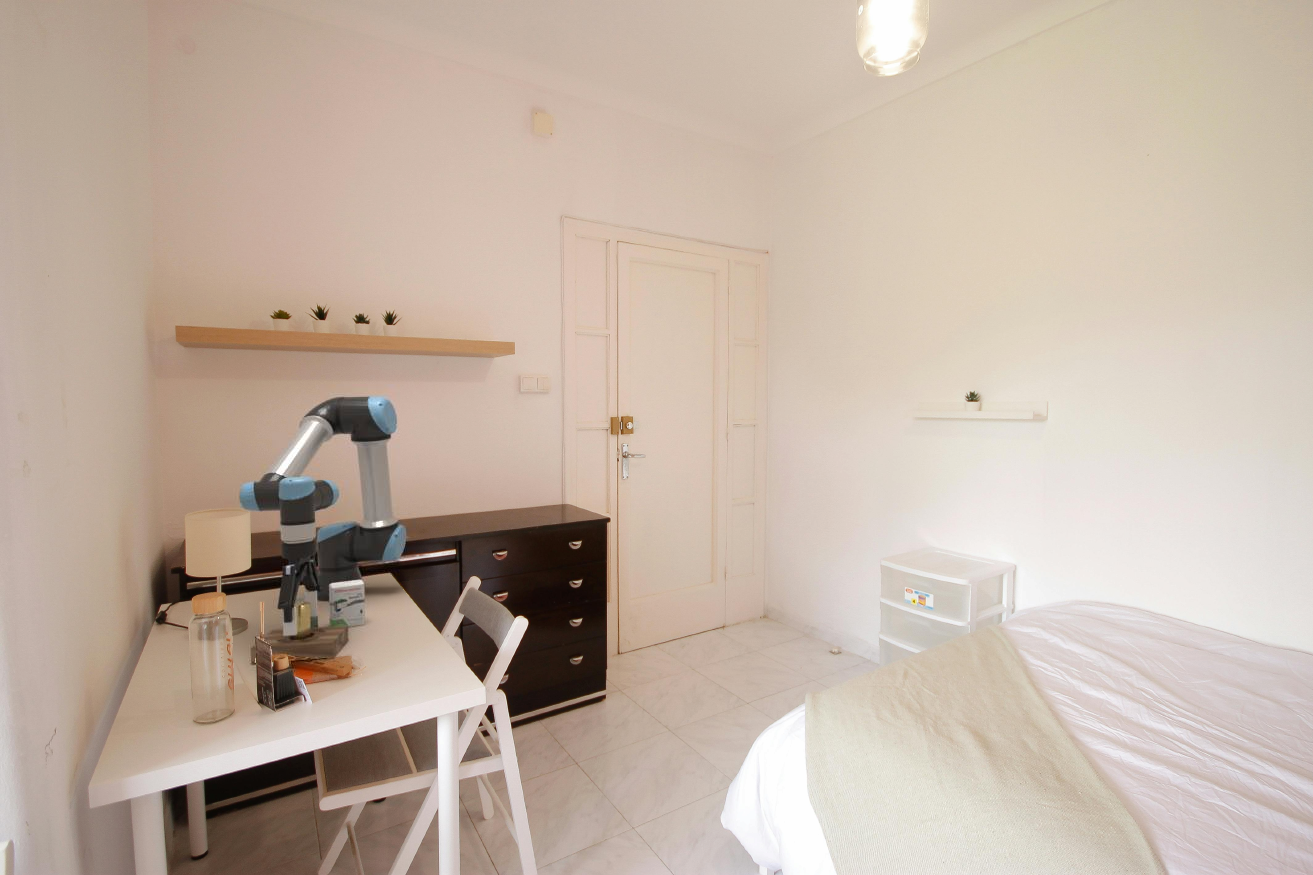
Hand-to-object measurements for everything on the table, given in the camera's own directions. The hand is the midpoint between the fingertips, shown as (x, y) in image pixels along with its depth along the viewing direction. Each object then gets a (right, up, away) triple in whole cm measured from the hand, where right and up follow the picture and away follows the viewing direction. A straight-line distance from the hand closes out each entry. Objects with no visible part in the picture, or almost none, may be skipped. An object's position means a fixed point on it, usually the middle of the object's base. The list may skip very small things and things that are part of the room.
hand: (301, 625), depth 154 cm
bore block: (0, -7, 0) cm, 7 cm away
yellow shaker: (0, -7, 0) cm, 7 cm away
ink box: (+2, -6, +20) cm, 21 cm away
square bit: (-5, -6, +11) cm, 13 cm away
